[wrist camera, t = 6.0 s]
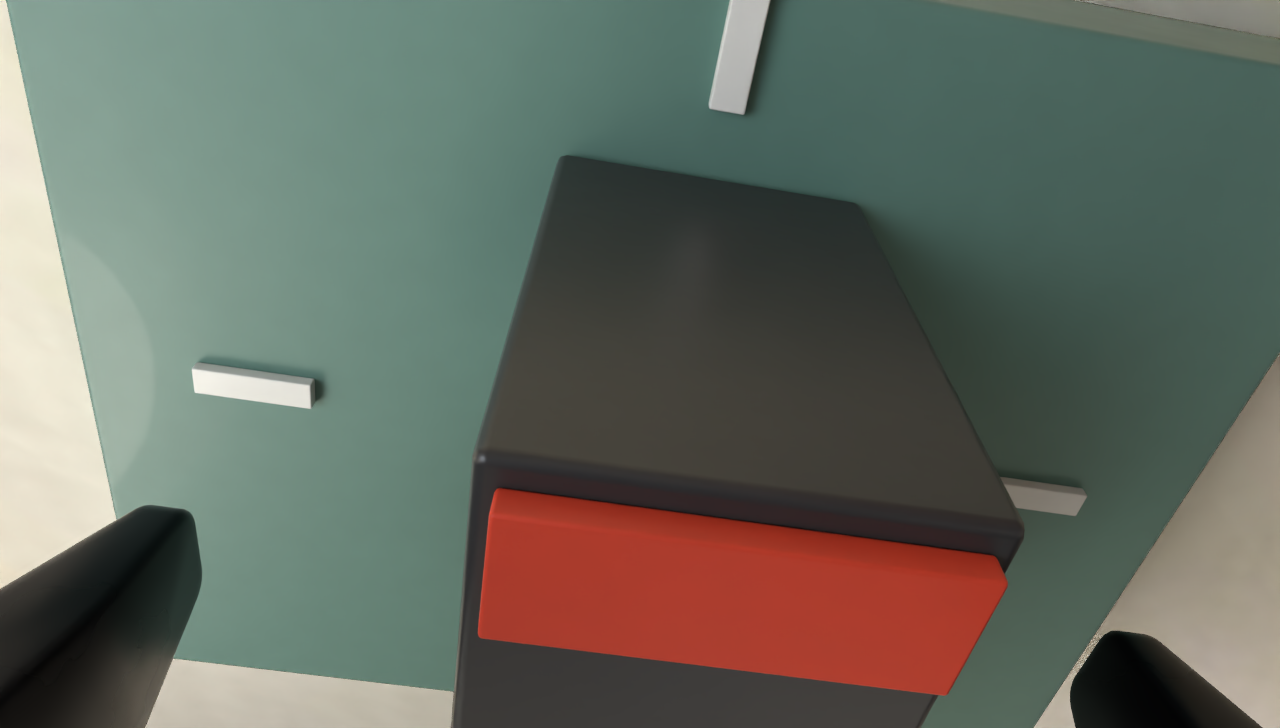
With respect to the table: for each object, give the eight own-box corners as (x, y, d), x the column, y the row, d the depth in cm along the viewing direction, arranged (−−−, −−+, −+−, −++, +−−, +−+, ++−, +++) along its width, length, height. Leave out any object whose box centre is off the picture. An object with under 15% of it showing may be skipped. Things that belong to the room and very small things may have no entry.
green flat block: (214, 545, 15) (138, 670, 13) (115, -189, 10) (-53, -190, 7) (967, 641, 16) (1015, 772, 14) (1299, 31, 11) (1472, 90, 8)
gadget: (719, 642, 13) (752, 1075, 8) (504, 614, 13) (421, 1047, 8) (861, 201, 9) (1053, 561, 5) (560, 150, 9) (463, 482, 4)
